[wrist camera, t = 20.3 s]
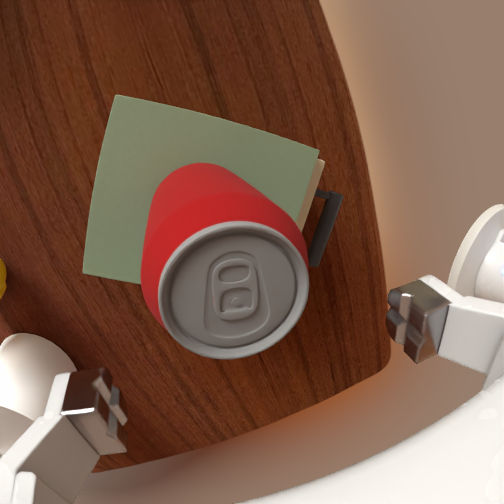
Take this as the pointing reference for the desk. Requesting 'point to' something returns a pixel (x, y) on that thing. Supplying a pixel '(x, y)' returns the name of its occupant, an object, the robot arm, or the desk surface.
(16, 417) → the cup
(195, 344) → the beverage can
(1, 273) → the duckling
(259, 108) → the desk surface
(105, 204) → the cabinet
